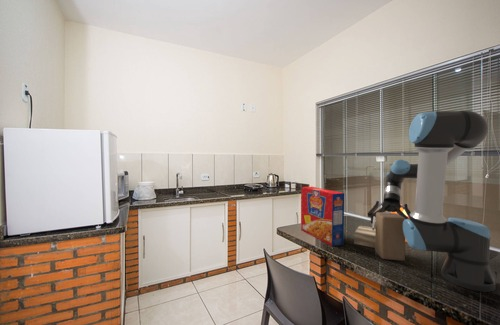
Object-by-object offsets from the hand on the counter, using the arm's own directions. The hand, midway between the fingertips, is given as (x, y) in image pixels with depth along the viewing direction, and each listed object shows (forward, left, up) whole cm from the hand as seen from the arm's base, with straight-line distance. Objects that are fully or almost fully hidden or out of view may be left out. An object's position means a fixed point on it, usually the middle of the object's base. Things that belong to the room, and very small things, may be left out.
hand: (389, 231), depth 109 cm
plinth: (+15, +10, -11) cm, 21 cm away
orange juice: (+31, -4, -12) cm, 33 cm away
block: (0, 0, -12) cm, 12 cm away
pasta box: (+6, +35, -12) cm, 38 cm away
